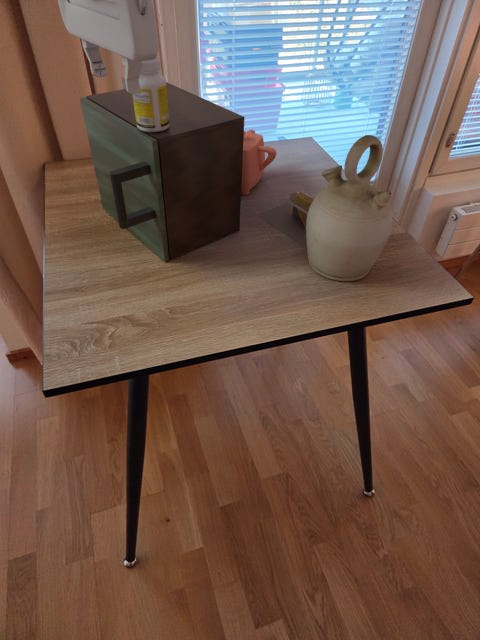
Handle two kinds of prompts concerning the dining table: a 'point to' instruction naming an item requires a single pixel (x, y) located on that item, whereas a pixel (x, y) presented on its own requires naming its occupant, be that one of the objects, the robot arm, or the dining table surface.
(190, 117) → the cupboard
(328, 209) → the jug
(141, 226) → the cupboard door
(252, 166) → the teapot
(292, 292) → the dining table surface
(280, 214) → the platform
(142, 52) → the robot arm
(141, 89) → the supplement bottle
